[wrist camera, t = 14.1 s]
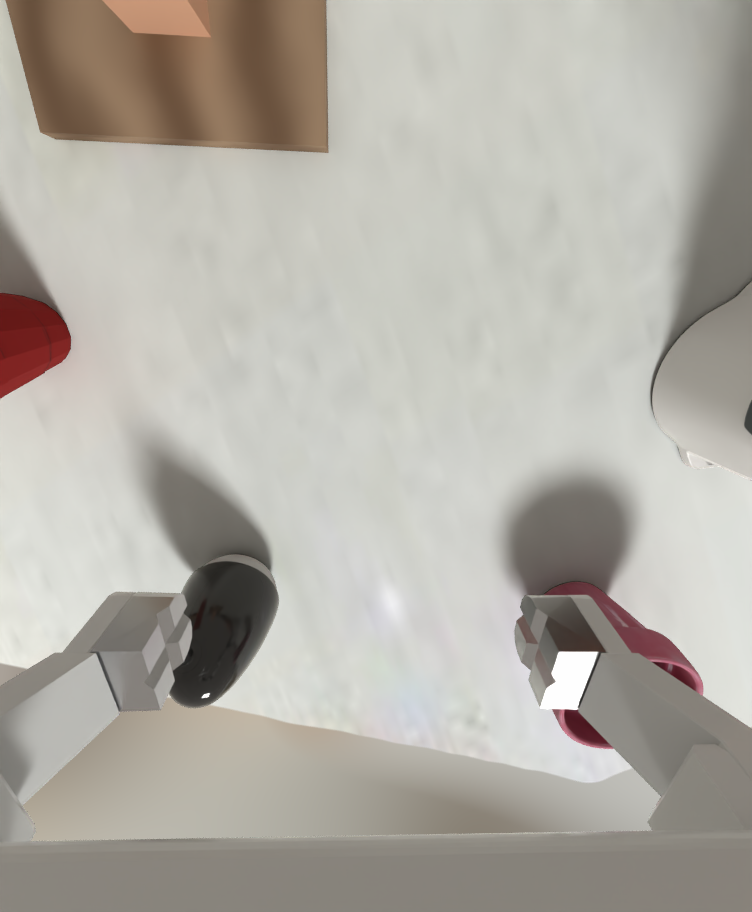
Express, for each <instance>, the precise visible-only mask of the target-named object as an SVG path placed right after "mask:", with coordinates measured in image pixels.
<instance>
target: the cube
mask: <svg viewBox="0 0 752 912" xmlns="http://www.w3.org/2000/svg"><path fill="white" fill-rule="evenodd" d="M103 1H104V3H105V4H106V5H107V6H108V7H109V8H110V9H111V10H112V11H113V12H114V13H115V14H116V15H117V16H118V17H119V18H120V19H121V21H122V22H123V23H124V24H125V25H126V26H127V27H128V28H129V29H130V30H131V31H132V32H133V33H147V34H164V35H181V36H197V37H211V32H210V23H209V13H208V4H207V0H103Z"/></svg>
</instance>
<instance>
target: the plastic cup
mask: <svg viewBox="0 0 752 912" xmlns="http://www.w3.org/2000/svg"><path fill="white" fill-rule="evenodd" d="M70 349H71V336H70V334H69V331H68V328H67V326H66V324H65V322H64V321H63V320H62V319H61V317H60V316H59V315H58V313H57V312H56V311H54V310H53V309H51V308H50V307H49V306H47V305H46V304H44V303H42V302H39V301H36V300H33V299H30V298H27V297H24V296H19V295H12V294H5V293H0V398H2V397H3V396H5V395H7V394H9V393H10V392H12V391H14V390H16V389H17V388H19V387H21V386H23V385H24V384H26V383H28V382H30V381H31V380H33V379H35V378H36V377H38V376H40V375H42V374H43V373H45V371H47V370H49V369H50V368H52V367H54V366H56V365H57V364H59V363H61V362H62V361H63V360H64V359H65V358H66V356H67V355H68V353H69V351H70Z"/></svg>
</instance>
